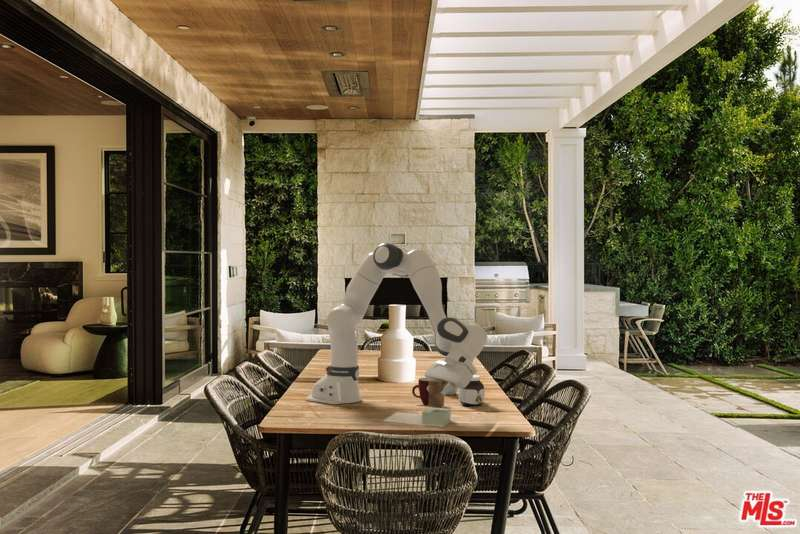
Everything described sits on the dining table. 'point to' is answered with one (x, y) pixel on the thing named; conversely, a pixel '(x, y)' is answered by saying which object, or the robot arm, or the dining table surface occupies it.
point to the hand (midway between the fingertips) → (435, 392)
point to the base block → (436, 416)
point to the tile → (409, 419)
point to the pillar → (436, 393)
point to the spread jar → (472, 393)
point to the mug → (422, 390)
